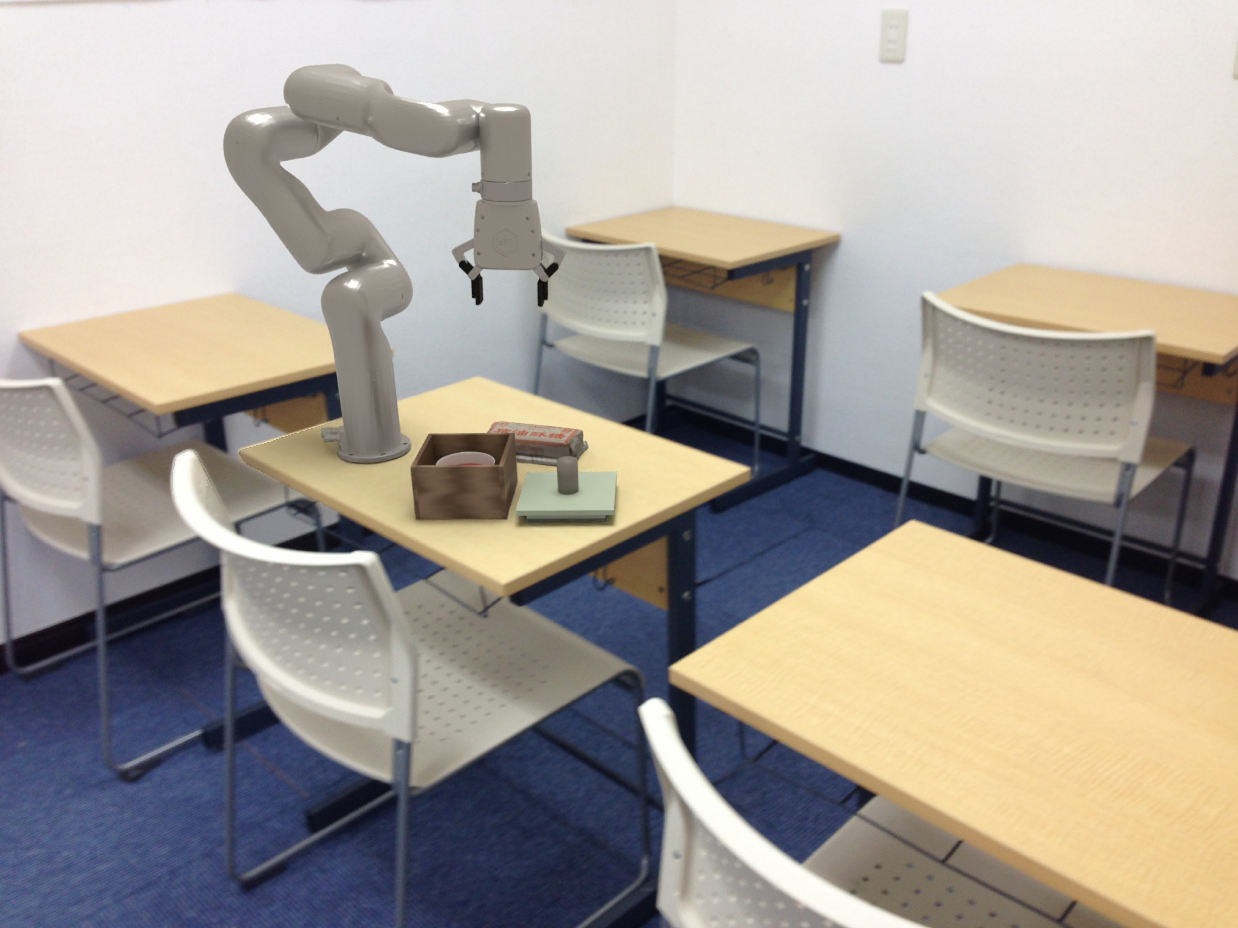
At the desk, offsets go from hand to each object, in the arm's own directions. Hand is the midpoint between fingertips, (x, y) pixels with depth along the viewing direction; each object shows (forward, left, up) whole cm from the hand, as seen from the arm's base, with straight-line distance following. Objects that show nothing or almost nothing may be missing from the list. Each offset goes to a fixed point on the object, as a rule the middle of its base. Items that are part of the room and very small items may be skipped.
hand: (510, 304), depth 162 cm
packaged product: (+1, +9, -29) cm, 30 cm away
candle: (-7, -11, -29) cm, 31 cm away
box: (-7, -11, -28) cm, 31 cm away
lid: (+9, -13, -28) cm, 32 cm away
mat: (+9, -13, -28) cm, 33 cm away
